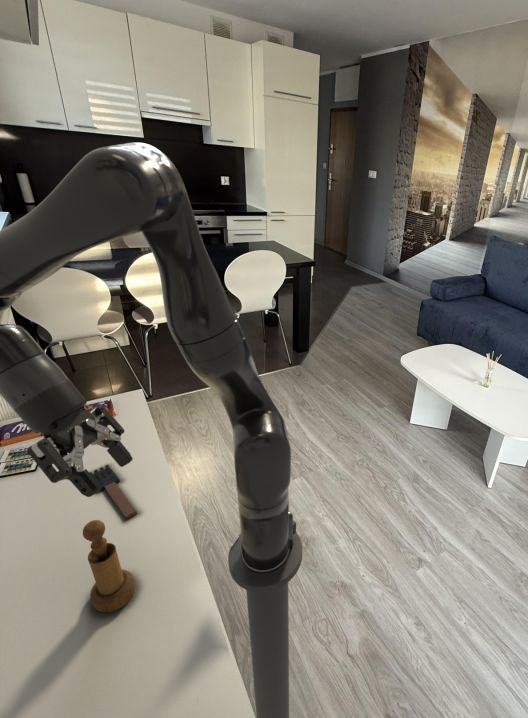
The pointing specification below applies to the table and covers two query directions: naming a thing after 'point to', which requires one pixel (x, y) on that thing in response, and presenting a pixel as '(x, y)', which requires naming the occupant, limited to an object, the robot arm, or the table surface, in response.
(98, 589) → the mortar and pestle
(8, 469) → the table surface
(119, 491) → the brush with brown handle
